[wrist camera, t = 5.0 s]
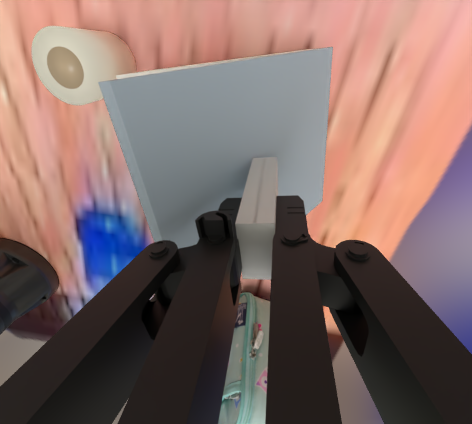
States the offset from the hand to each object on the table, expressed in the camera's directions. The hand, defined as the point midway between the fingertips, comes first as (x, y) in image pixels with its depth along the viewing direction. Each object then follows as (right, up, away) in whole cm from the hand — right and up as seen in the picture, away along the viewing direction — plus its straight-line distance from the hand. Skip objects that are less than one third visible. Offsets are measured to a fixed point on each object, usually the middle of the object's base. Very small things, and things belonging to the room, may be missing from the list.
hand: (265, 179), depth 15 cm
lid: (-1, +1, +2) cm, 2 cm away
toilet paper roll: (-16, +14, +13) cm, 25 cm away
